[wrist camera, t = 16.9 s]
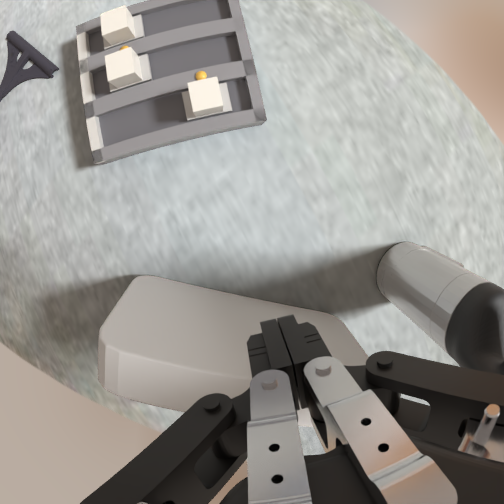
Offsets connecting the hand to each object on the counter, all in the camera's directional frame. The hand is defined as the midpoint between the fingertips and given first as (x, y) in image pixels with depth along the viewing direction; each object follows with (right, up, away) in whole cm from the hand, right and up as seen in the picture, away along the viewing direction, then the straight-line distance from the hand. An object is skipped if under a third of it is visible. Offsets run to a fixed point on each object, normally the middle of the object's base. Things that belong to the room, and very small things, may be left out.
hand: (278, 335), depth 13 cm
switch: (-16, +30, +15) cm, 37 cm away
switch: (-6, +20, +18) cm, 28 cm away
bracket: (-38, +28, +18) cm, 50 cm away
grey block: (-3, -5, +29) cm, 30 cm away
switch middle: (-15, +24, +16) cm, 33 cm away
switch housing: (-12, +26, +20) cm, 35 cm away
